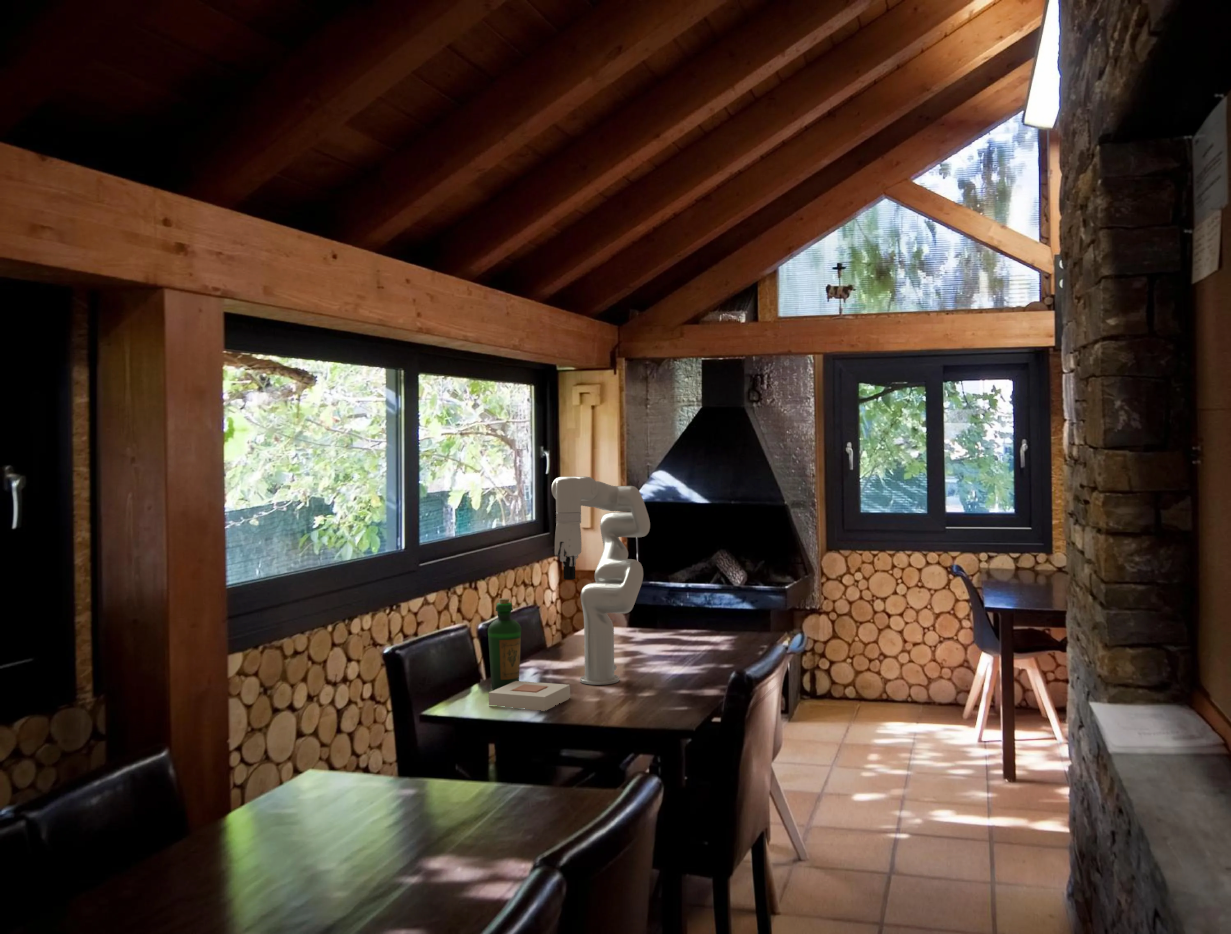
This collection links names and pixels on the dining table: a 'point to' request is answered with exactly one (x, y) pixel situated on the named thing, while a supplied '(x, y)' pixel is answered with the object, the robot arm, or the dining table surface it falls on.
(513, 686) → the panel
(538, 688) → the button
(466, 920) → the dining table surface
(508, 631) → the bottle
